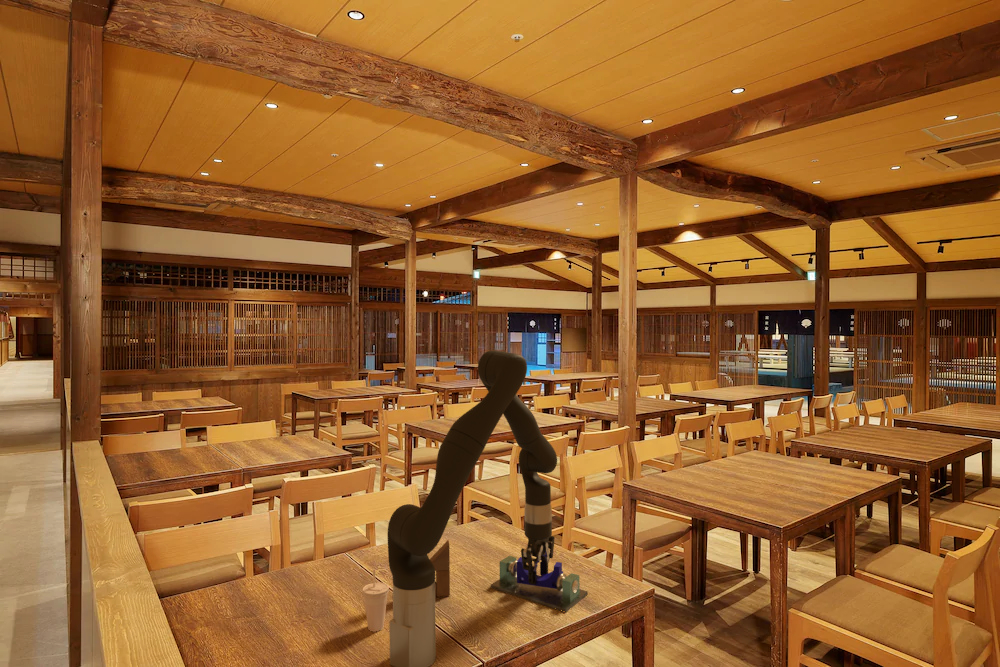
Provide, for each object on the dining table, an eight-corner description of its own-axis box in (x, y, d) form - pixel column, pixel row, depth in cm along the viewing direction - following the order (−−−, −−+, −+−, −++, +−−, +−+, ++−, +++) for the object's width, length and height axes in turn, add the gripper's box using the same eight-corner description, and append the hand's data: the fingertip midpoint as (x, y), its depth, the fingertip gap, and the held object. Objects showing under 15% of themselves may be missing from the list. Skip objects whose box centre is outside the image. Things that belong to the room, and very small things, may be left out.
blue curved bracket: (563, 582, 154) (563, 560, 154) (559, 589, 150) (559, 567, 150) (521, 576, 158) (521, 554, 158) (516, 582, 154) (516, 561, 154)
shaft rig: (565, 612, 142) (565, 587, 142) (490, 587, 157) (490, 564, 157) (587, 594, 152) (587, 570, 152) (514, 572, 166) (514, 550, 166)
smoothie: (378, 618, 140) (377, 562, 140) (394, 626, 136) (394, 569, 136) (356, 628, 135) (356, 571, 135) (373, 637, 131) (373, 578, 131)
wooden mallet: (449, 596, 152) (449, 530, 151) (409, 599, 150) (409, 532, 150) (449, 590, 155) (448, 525, 155) (409, 593, 154) (409, 527, 153)
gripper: (535, 528, 146) (536, 593, 146) (562, 514, 158) (563, 573, 158) (512, 523, 151) (512, 585, 151) (540, 509, 162) (540, 567, 162)
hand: (538, 579), depth 154 cm, fingers closed on blue curved bracket, 5 cm apart
